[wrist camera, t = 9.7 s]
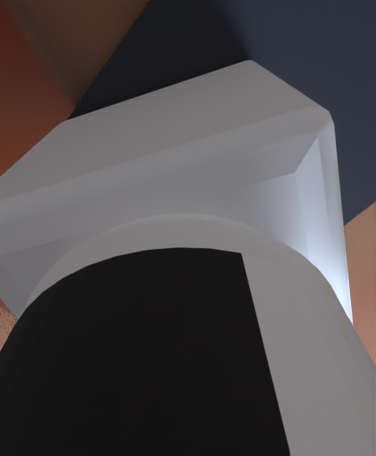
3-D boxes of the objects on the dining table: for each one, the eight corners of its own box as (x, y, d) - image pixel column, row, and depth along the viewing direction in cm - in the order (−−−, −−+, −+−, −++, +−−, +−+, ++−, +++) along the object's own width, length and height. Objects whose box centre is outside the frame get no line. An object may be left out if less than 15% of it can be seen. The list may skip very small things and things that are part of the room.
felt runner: (505, 90, 12) (514, 92, 12) (152, 371, 20) (151, 377, 20) (306, -225, 9) (311, -235, 8) (-37, 271, 16) (-42, 276, 16)
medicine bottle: (131, 274, 16) (40, 745, 6) (55, 122, 12) (-555, 646, 2) (289, 234, 15) (523, 718, 5) (255, 55, 11) (924, 442, 1)
